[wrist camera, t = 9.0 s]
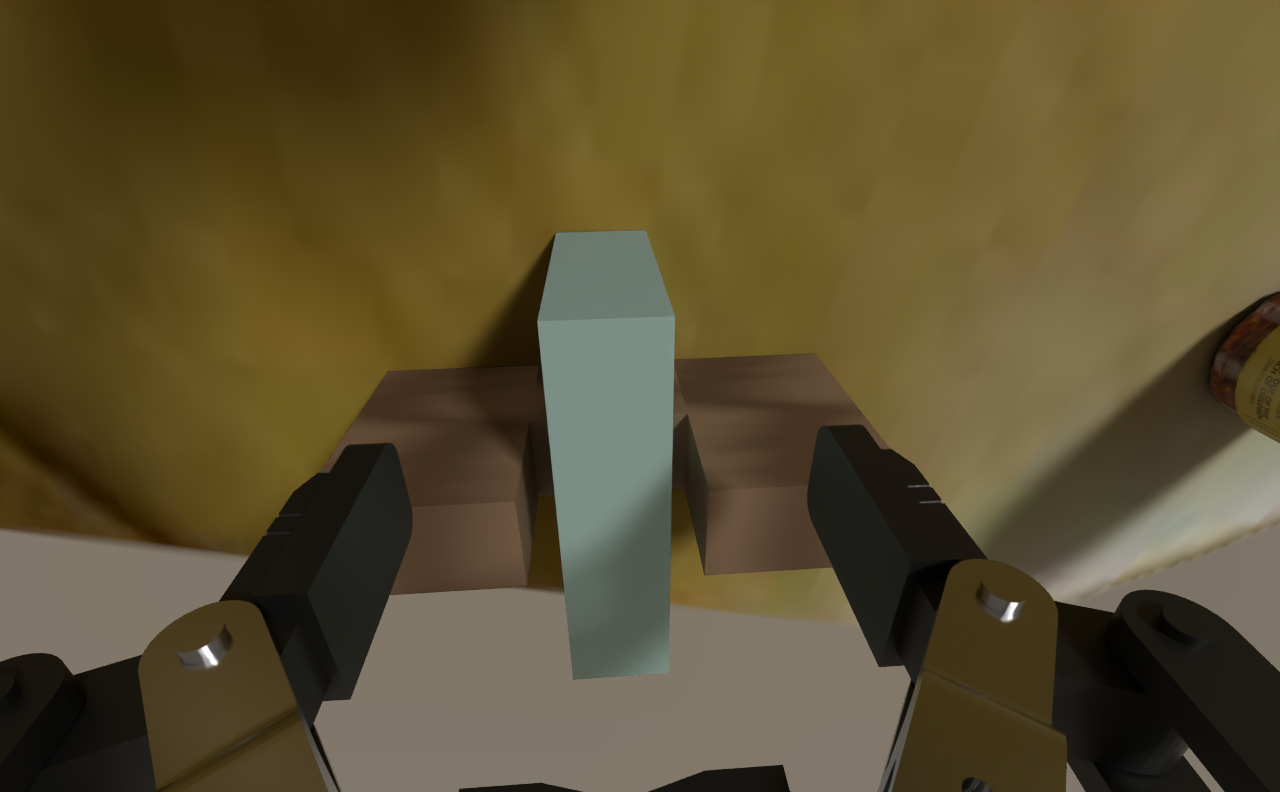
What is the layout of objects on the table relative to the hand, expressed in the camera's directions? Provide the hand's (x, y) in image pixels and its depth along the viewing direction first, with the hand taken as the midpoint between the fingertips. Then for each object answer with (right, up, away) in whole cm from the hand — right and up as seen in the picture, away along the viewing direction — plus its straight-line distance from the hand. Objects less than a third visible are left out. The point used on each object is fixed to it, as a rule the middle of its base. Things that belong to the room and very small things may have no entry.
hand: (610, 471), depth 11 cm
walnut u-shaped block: (-1, +1, +12) cm, 12 cm away
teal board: (-1, +2, +11) cm, 11 cm away
